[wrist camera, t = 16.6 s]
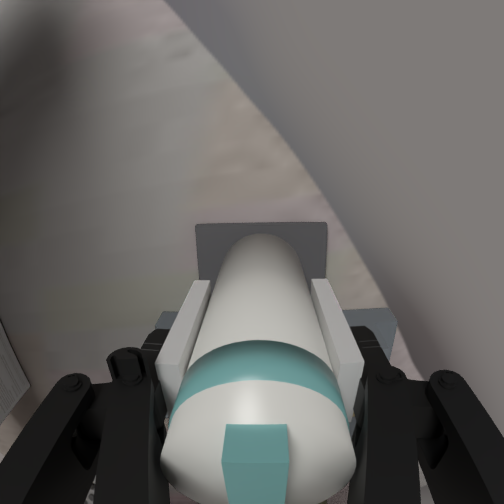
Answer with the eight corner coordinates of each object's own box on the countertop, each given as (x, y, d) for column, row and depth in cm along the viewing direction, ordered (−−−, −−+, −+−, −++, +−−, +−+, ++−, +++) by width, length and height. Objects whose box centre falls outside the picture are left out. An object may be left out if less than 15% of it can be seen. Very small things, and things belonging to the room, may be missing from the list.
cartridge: (219, 233, 19) (121, 442, 5) (302, 232, 19) (391, 443, 5) (223, 308, 21) (172, 535, 6) (300, 307, 20) (343, 535, 6)
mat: (196, 223, 20) (195, 226, 20) (325, 222, 20) (327, 224, 19) (203, 304, 22) (202, 308, 21) (321, 303, 22) (322, 307, 21)
